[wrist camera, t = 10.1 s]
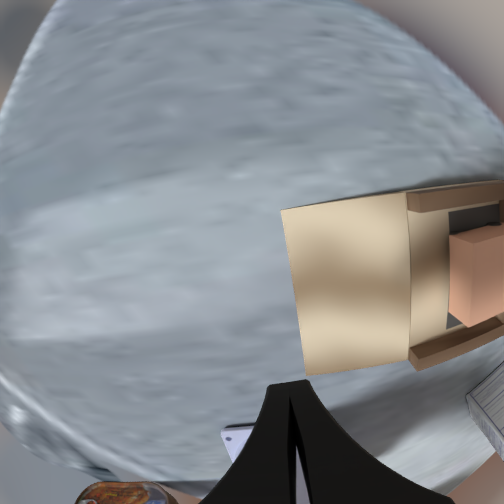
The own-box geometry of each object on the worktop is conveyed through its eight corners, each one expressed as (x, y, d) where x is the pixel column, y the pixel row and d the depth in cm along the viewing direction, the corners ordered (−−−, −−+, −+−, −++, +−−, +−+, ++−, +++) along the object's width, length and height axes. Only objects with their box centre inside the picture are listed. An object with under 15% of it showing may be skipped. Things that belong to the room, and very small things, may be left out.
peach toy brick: (493, 289, 16) (519, 303, 13) (443, 308, 16) (468, 327, 13) (495, 220, 15) (524, 228, 12) (443, 233, 15) (473, 243, 12)
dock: (487, 315, 18) (510, 331, 15) (304, 369, 19) (311, 399, 16) (490, 179, 16) (519, 181, 13) (279, 208, 17) (284, 215, 14)
